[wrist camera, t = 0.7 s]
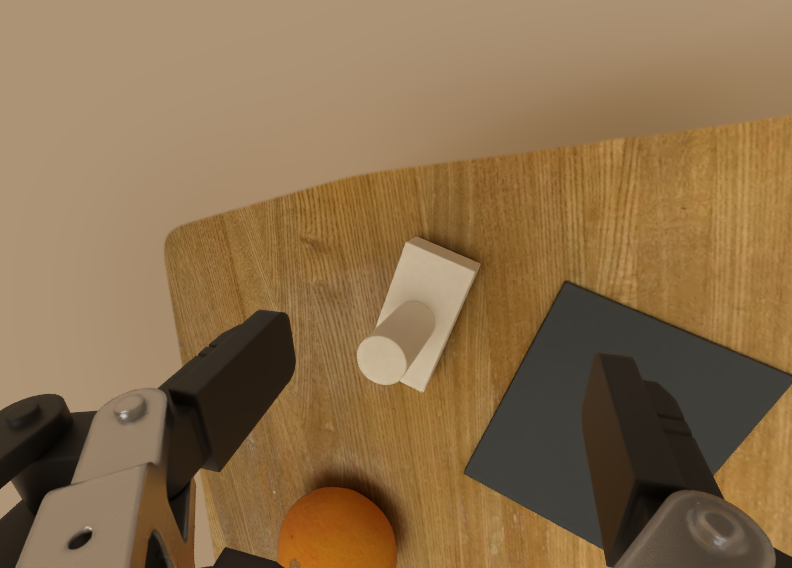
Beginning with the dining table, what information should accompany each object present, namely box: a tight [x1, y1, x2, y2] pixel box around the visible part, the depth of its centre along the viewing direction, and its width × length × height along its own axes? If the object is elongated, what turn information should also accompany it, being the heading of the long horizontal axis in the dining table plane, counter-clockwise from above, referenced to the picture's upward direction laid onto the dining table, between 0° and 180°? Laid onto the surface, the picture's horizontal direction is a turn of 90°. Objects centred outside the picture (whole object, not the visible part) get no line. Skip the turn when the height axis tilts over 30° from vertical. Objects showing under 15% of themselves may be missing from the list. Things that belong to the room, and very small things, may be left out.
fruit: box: [278, 487, 397, 568], centre depth 36 cm, size 10×10×8 cm
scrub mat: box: [464, 281, 792, 550], centre depth 29 cm, size 18×14×1 cm
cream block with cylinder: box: [357, 236, 481, 393], centre depth 27 cm, size 10×5×10 cm, turn 160°
